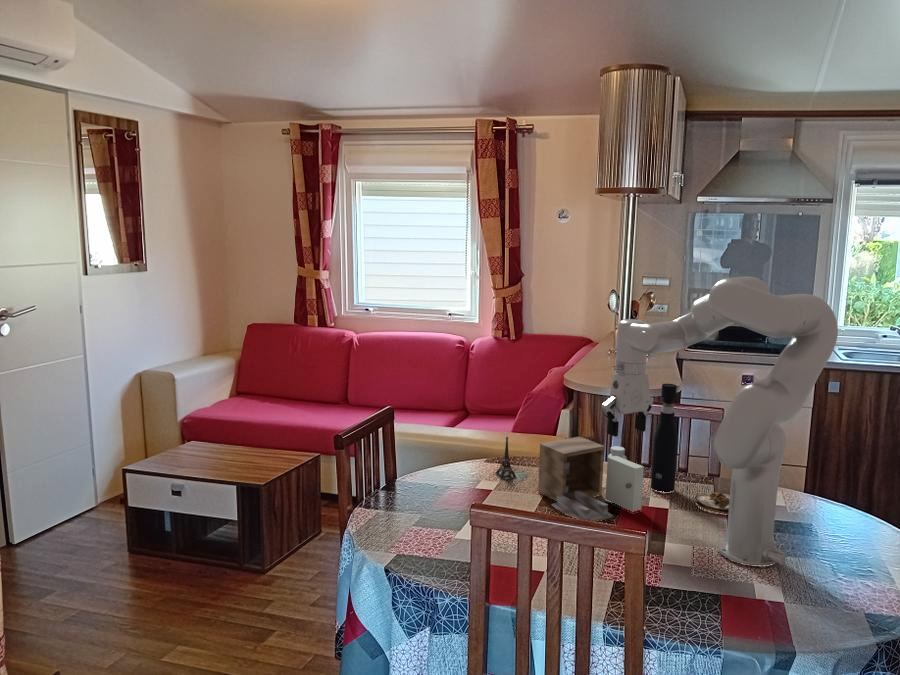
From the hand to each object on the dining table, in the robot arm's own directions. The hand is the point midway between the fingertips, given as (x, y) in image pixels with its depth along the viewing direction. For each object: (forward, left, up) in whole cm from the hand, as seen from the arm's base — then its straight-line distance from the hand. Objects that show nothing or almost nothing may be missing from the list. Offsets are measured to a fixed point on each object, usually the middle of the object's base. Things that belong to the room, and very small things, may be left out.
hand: (626, 432), depth 186 cm
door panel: (0, 0, -20) cm, 20 cm away
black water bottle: (+3, -18, -20) cm, 27 cm away
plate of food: (-13, -22, -21) cm, 33 cm away
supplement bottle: (+15, -12, -20) cm, 28 cm away
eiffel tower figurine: (+33, +14, -21) cm, 41 cm away
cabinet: (+6, +9, -20) cm, 22 cm away
